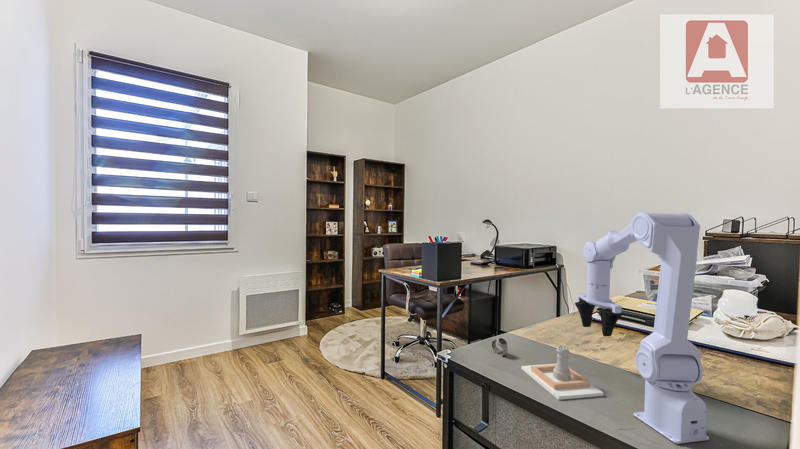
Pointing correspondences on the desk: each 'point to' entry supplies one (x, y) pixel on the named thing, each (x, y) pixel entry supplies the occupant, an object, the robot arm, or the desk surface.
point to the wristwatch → (502, 344)
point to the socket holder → (562, 382)
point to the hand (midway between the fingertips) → (596, 331)
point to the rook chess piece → (562, 364)
